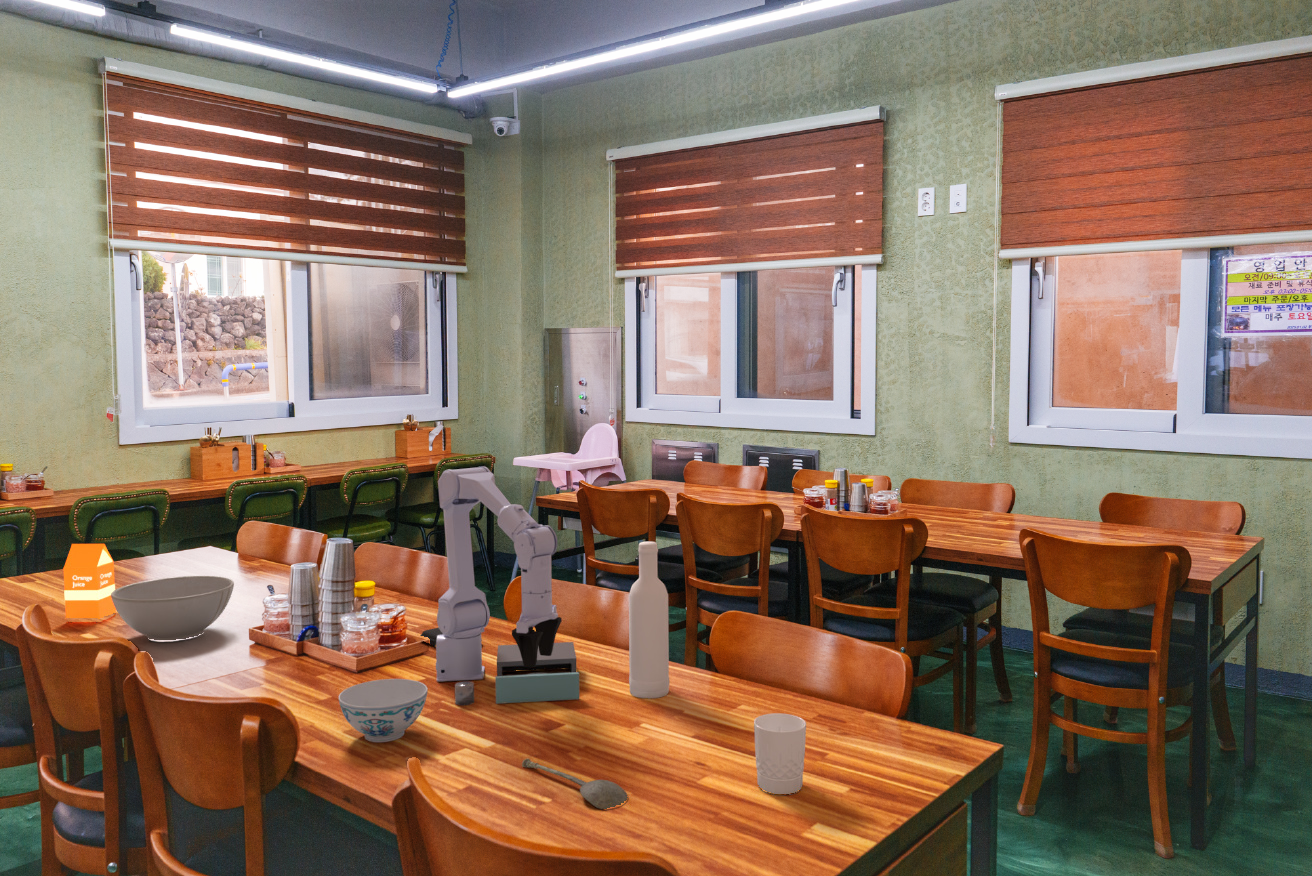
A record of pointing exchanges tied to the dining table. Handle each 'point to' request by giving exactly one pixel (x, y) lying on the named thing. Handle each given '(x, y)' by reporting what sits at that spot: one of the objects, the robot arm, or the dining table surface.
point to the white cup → (780, 752)
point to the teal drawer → (537, 687)
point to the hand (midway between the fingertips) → (538, 660)
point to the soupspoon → (590, 788)
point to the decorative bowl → (173, 605)
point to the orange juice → (89, 582)
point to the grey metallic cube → (464, 693)
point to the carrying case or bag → (432, 635)
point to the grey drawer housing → (559, 658)
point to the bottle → (648, 629)
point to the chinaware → (383, 707)
